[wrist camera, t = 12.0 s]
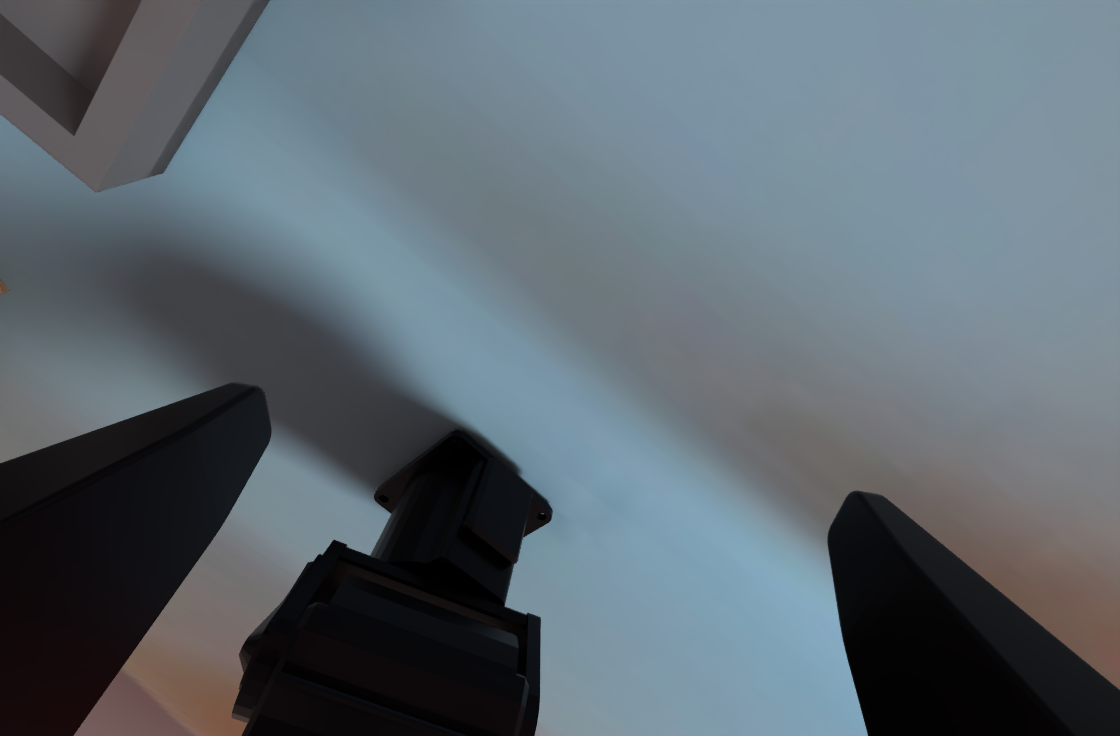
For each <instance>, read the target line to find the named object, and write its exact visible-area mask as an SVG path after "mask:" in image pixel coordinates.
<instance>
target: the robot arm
mask: <svg viewBox="0 0 1120 736" xmlns="http://www.w3.org/2000/svg"><path fill="white" fill-rule="evenodd" d="M270 438H271V423H270V418H269V412H268V407H267V401H266V396H265V393H264V391H263V389H262V388H260V387H258V386H255V385H249V384H243V383H236V382H235V383H229V384H226V385H224V386H221V387H218V388H215V389H212V390H209V391H206V392H204V393H201V394H198V395H195V396H192V397H189V398H186V399H183V400H181V401H178V402H175V403H172V404H169V405H166V406H163V407H161V408H158V409H155V410H152V411H149V412H146V413H143V414H140V415H138V416H135V417H132V418H129V419H126V420H123V421H120V422H117V423H115V424H112V425H109V426H106V427H103V428H100V429H97V430H95V431H92V432H89V433H86V434H83V435H80V436H77V437H74V438H72V439H69V440H66V441H63V442H60V443H57V444H54V445H52V446H49V447H46V448H43V449H40V450H37V451H34V452H31V453H29V454H26V455H23V456H20V457H17V458H14V459H11V460H9V461H6V462H3V463H0V736H73V735H74V734H75V733H76V731H77V730H78V728H79V727H80V726H81V724H82V723H83V721H84V720H85V719H86V717H87V716H88V714H89V713H90V712H91V710H92V709H93V707H94V706H95V704H96V703H97V702H98V700H99V699H100V697H101V696H102V695H103V693H104V692H105V690H106V689H107V688H108V686H109V684H110V683H111V682H112V680H113V679H114V678H115V676H116V675H117V674H118V672H119V671H120V669H121V668H122V666H123V665H124V664H125V662H126V661H127V659H128V658H129V657H130V655H131V654H132V652H133V651H134V650H135V648H136V647H137V645H138V644H139V643H140V641H141V640H142V638H143V637H144V636H145V634H146V633H147V631H148V630H149V629H150V627H151V626H152V624H153V623H154V621H155V620H156V619H157V617H158V616H159V614H160V613H161V612H162V610H163V609H164V607H165V606H166V605H167V603H168V602H169V600H170V599H171V598H172V596H173V595H174V593H175V592H176V591H177V589H178V588H179V586H180V585H181V583H182V582H183V581H184V579H185V578H186V576H187V575H188V574H189V572H190V571H191V569H192V568H193V567H194V565H195V564H196V562H197V561H198V560H199V558H200V557H201V555H202V554H203V553H204V551H205V550H206V548H207V547H208V546H209V544H210V543H211V541H212V540H213V538H214V537H215V535H216V534H217V532H218V531H219V529H220V528H221V526H222V525H223V523H224V521H225V520H226V518H227V517H228V515H229V513H230V511H231V510H232V508H233V506H234V504H235V503H236V501H237V499H238V497H239V495H240V494H241V492H242V490H243V488H244V487H245V485H246V483H247V481H248V479H249V478H250V476H251V474H252V472H253V471H254V469H255V467H256V465H257V463H258V462H259V460H260V458H261V456H262V455H263V453H264V451H265V449H266V447H267V446H268V444H269V441H270ZM455 440H458V441H460V442H461V443H457V442H455ZM384 495H385V496H384ZM386 496H387V497H386ZM374 499H375V501H376V502H377V503H378V504H379V505H381V506H382V507H383V508H385V509H386V510H387V511H389V512H390V513H391V516H390V518H389V520H388V522H387V524H386V526H385V528H384V530H383V532H382V534H381V536H380V538H379V539H378V541H377V543H376V545H375V547H374V549H373V551H372V553H371V555H370V556H369V555H366V554H364V553H361V552H358V551H356V550H353V549H350V548H348V547H347V544H344V543H341V542H339V541H336V540H333V541H332V543H331V544H330V546H329V547H328V548H327V550H326V551H325V552H324V554H323V555H321V554H319V555H318V556H317V557H316V559H315V560H314V561H313V562H308V563H307V565H306V566H305V568H304V570H303V571H302V573H301V574H300V576H299V578H298V579H297V581H296V583H295V584H294V586H293V587H292V589H291V590H290V592H289V593H288V595H287V596H286V597H285V599H284V600H283V601H282V602H281V603H280V604H279V606H278V607H277V608H276V609H275V610H274V611H273V612H272V613H271V614H270V615H269V616H268V617H267V618H266V619H265V620H264V621H263V622H262V623H261V624H260V625H259V626H258V627H257V628H256V629H255V630H254V632H253V633H252V634H251V635H250V636H249V637H248V638H247V640H246V641H245V643H244V645H243V647H242V649H241V651H240V653H239V657H240V661H241V665H242V669H243V672H244V675H243V677H242V680H241V683H240V686H239V690H240V691H239V694H238V696H237V699H236V702H235V704H234V708H233V711H232V718H234V719H237V720H240V721H243V722H246V723H248V724H247V726H246V728H245V730H244V732H243V734H242V736H534V735H535V731H536V726H537V720H538V713H539V703H540V628H541V618H540V617H538V616H536V615H533V614H530V613H527V614H523V613H521V612H518V611H515V610H513V609H510V608H507V607H505V602H506V598H507V593H508V589H509V585H510V580H511V576H512V572H513V567H514V564H515V563H517V561H518V558H519V553H520V549H521V544H522V540H523V537H525V536H527V535H528V534H530V533H532V532H533V531H535V530H537V529H539V528H540V527H542V526H544V525H545V524H547V523H549V522H550V521H551V518H552V513H553V511H552V508H551V507H550V506H549V505H548V504H547V503H546V502H545V501H544V500H542V499H541V498H540V497H539V496H538V495H537V494H536V493H534V492H533V491H532V490H531V489H530V488H529V487H527V486H526V485H525V484H524V483H523V482H522V481H521V480H519V479H518V478H517V477H516V476H515V475H514V474H512V473H511V472H510V471H509V470H508V469H507V468H506V467H504V466H503V465H502V464H501V463H500V462H499V461H497V460H496V459H495V458H494V457H493V456H492V455H491V454H489V453H488V452H487V451H486V450H485V449H484V448H482V447H481V446H480V445H479V444H478V443H477V442H476V441H474V440H473V439H472V438H471V437H470V436H469V435H468V434H466V433H465V432H463V431H460V430H454V431H452V432H450V433H449V434H448V435H447V436H445V437H444V438H443V439H441V440H440V441H439V442H437V443H436V444H435V445H433V446H432V447H431V448H430V449H428V450H427V451H426V452H424V453H423V454H422V455H420V456H419V457H418V458H416V459H415V460H414V461H413V462H411V463H410V464H409V465H407V466H406V467H405V468H403V469H402V470H401V471H399V472H398V473H397V474H396V475H394V476H393V477H392V478H390V479H389V480H388V481H386V482H385V483H384V484H382V485H381V486H380V487H379V488H378V489H377V491H376V493H375V494H374ZM540 513H544V514H540ZM828 550H829V556H830V563H831V569H832V576H833V582H834V588H835V595H836V601H837V608H838V614H839V621H840V627H841V632H842V637H843V642H844V646H845V651H846V655H847V659H848V662H849V666H850V670H851V674H852V677H853V681H854V685H855V688H856V692H857V696H858V700H859V703H860V707H861V711H862V714H863V718H864V722H865V726H866V729H867V733H868V736H1120V690H1119V689H1118V688H1117V687H1116V686H1114V685H1113V684H1112V683H1111V682H1110V681H1108V680H1107V679H1106V678H1105V677H1103V676H1102V675H1101V674H1100V673H1099V672H1097V671H1096V670H1095V669H1094V668H1092V667H1091V666H1090V665H1089V664H1088V663H1086V662H1085V661H1084V660H1083V659H1082V658H1080V657H1079V656H1078V655H1077V654H1075V653H1074V652H1073V651H1072V650H1071V649H1069V648H1068V647H1067V646H1066V645H1064V644H1063V643H1062V642H1061V641H1060V640H1058V639H1057V638H1056V637H1055V636H1053V635H1052V634H1051V633H1050V632H1049V631H1047V630H1046V629H1045V628H1044V627H1043V626H1041V625H1040V624H1039V623H1038V622H1036V621H1035V620H1034V619H1033V618H1032V617H1030V616H1029V615H1028V614H1027V613H1025V612H1024V611H1023V610H1022V609H1021V608H1019V607H1018V606H1017V605H1016V604H1014V603H1013V602H1012V601H1011V600H1010V599H1008V598H1007V597H1006V596H1005V595H1004V594H1002V593H1001V592H1000V591H999V590H997V589H996V588H995V587H994V586H993V585H991V584H990V583H989V582H988V581H986V580H985V579H984V578H983V577H982V576H980V575H979V574H978V573H977V572H975V571H974V570H973V569H972V568H971V567H969V566H968V565H967V564H966V563H965V562H963V561H962V560H961V559H960V558H958V557H957V556H956V555H955V554H954V553H952V552H951V551H950V550H949V549H947V548H946V547H945V546H944V545H943V544H941V543H940V542H939V541H938V540H937V539H935V538H934V537H933V536H932V535H930V534H929V533H928V532H927V531H926V530H924V529H923V528H922V527H921V526H919V525H918V524H917V523H916V522H915V521H913V520H912V519H911V518H910V517H908V516H907V515H906V514H905V513H904V512H902V511H901V510H900V509H899V508H898V507H896V506H895V505H894V504H893V503H891V502H890V501H889V500H888V499H887V498H885V497H884V496H882V495H879V494H875V493H869V492H863V491H853V492H851V493H849V494H848V496H847V497H846V499H845V500H844V502H843V504H842V506H841V508H840V510H839V511H838V513H837V515H836V517H835V519H834V521H833V522H832V524H831V526H830V529H829V532H828Z"/></svg>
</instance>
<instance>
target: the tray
mask: <svg viewBox="0 0 1120 736" xmlns="http://www.w3.org/2000/svg"><path fill="white" fill-rule="evenodd" d="M268 2H269V0H0V114H1V115H2V116H3V117H4V118H6V119H7V120H8V121H9V122H10V123H12V124H13V125H14V126H15V127H17V128H18V129H19V130H20V131H21V132H23V133H24V134H25V135H26V136H27V137H29V138H30V139H31V140H32V141H34V142H35V143H36V144H37V145H38V146H40V147H41V148H42V149H43V150H45V151H46V152H47V153H48V154H49V155H51V156H52V157H53V158H54V159H56V160H57V161H58V162H59V163H60V164H62V165H63V166H64V167H65V168H67V169H68V170H69V171H70V172H71V173H73V174H74V175H75V176H76V177H78V178H79V179H80V180H81V181H82V182H84V183H85V184H86V185H87V186H88V187H90V188H91V189H92V190H93V191H95V192H100V191H103V190H106V189H110V188H113V187H117V186H120V185H124V184H127V183H131V182H134V181H138V180H141V179H144V178H148V177H151V176H155V175H158V174H162V173H163V172H164V171H165V169H166V168H167V166H168V164H169V163H170V161H171V159H172V158H173V156H174V155H175V153H176V151H177V150H178V148H179V146H180V145H181V143H182V142H183V140H184V138H185V137H186V135H187V133H188V132H189V130H190V129H191V127H192V125H193V124H194V122H195V120H196V119H197V117H198V116H199V114H200V112H201V111H202V109H203V107H204V106H205V104H206V103H207V101H208V99H209V98H210V96H211V94H212V93H213V91H214V90H215V88H216V86H217V85H218V83H219V81H220V80H221V78H222V77H223V75H224V73H225V72H226V70H227V68H228V67H229V65H230V64H231V62H232V60H233V59H234V57H235V55H236V54H237V52H238V51H239V49H240V47H241V46H242V44H243V42H244V41H245V39H246V38H247V36H248V34H249V33H250V31H251V29H252V28H253V26H254V25H255V23H256V21H257V20H258V18H259V16H260V15H261V13H262V12H263V10H264V8H265V7H266V5H267V3H268Z"/></svg>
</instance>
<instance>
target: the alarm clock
mask: <svg viewBox="0 0 1120 736" xmlns="http://www.w3.org/2000/svg"><path fill="white" fill-rule="evenodd" d="M7 291H9V289H8V288H7V286H6V285H5V284H4V283H3V282H2V281H1V280H0V294H3V293H5V292H7Z"/></svg>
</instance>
